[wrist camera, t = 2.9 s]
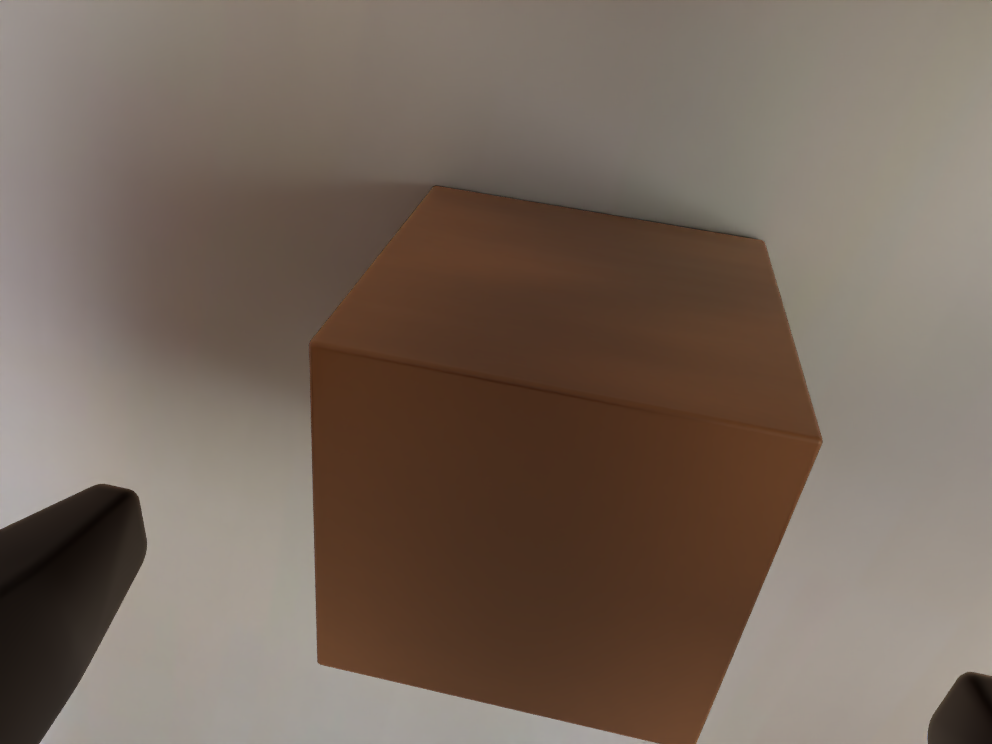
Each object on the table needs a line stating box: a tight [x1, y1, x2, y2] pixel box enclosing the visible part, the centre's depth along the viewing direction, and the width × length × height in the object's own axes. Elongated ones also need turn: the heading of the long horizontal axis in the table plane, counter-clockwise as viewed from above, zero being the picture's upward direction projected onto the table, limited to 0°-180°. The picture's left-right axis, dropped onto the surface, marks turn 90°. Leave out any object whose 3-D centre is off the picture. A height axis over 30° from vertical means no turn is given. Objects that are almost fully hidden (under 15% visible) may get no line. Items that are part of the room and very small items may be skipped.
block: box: [309, 186, 822, 744], centre depth 11 cm, size 5×5×5 cm
